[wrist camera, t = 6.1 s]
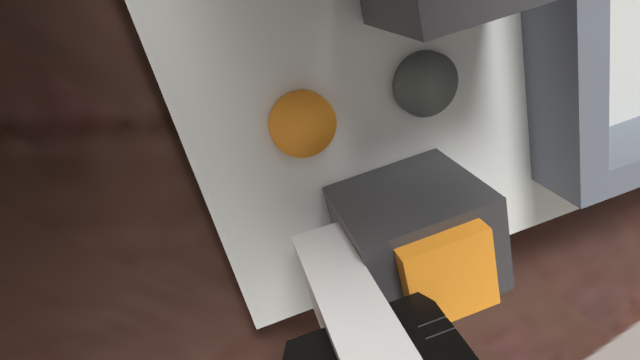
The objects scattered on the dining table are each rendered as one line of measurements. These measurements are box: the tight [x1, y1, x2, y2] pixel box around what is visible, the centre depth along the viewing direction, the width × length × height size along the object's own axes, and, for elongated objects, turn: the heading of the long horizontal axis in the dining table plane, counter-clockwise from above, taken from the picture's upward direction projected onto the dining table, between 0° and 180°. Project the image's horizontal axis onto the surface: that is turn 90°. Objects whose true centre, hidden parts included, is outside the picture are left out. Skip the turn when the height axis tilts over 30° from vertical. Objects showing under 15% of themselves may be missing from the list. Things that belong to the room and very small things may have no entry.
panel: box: [125, 0, 640, 329], centre depth 17 cm, size 23×14×2 cm, turn 105°
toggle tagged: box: [322, 148, 515, 322], centre depth 15 cm, size 4×3×5 cm
